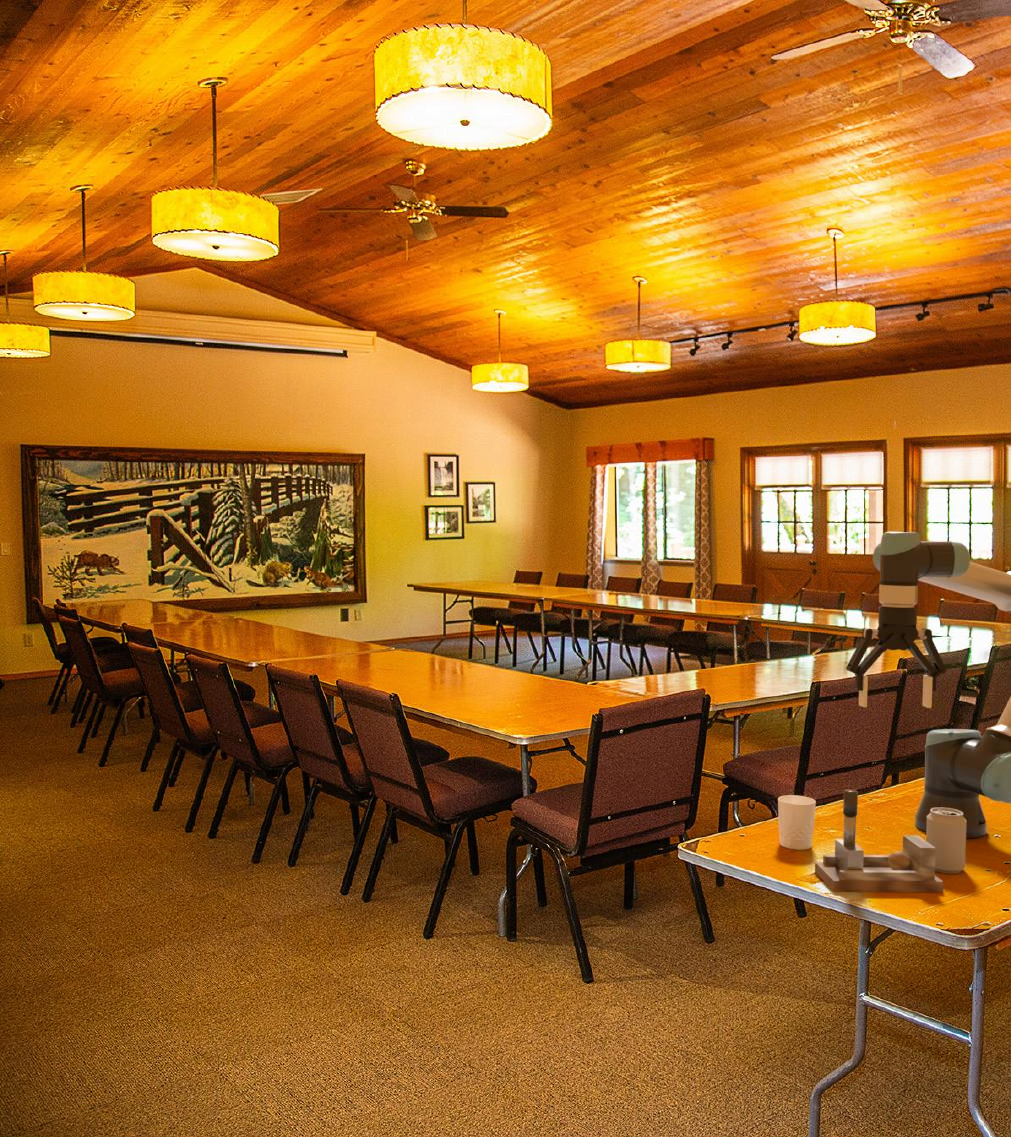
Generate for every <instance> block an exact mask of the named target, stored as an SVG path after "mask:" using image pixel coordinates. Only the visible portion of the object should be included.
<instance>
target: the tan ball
mask: <svg viewBox="0 0 1011 1137" xmlns="http://www.w3.org/2000/svg"><path fill="white" fill-rule="evenodd" d="M889 855H890V856H889V858H888V864H889V866H890V868H891V869H892V870H901V871H906V870H907V869H908V868H909V866H910V860H909V857H908V856H907V855H906V854H905V853H904V852H903V851H901V850H900V851H899V850H896V851H893V852H892V853H889Z"/></svg>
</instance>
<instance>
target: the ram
mask: <svg viewBox="0 0 1011 1137" xmlns="http://www.w3.org/2000/svg"><path fill="white" fill-rule="evenodd" d="M858 795H859V791H857V790H856V789H855V790H854V789H844V790H843V802H842V803H843V804H842V805H843V806H842V810H843V811H842V814H843V838H835V840H834V855H835V865H836V866H837V867H838V868H839V869H840V870H863V859H864V855H865V850H864V849H862V848H861V846H859V845H858V844H856V837H857V836H856V835H857V834H856V833H857V832H856V831H857V816H858V804H859V803H858V801H859V798H858V797H859V796H858Z"/></svg>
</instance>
